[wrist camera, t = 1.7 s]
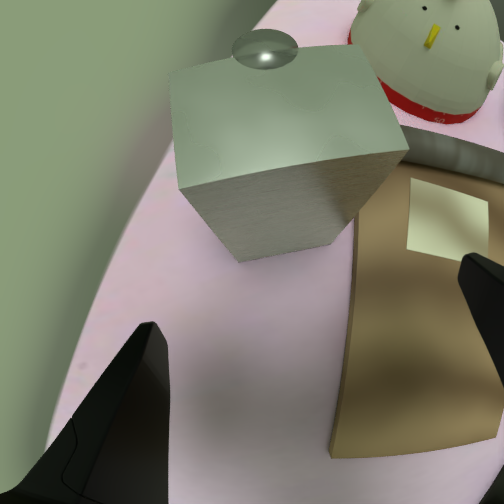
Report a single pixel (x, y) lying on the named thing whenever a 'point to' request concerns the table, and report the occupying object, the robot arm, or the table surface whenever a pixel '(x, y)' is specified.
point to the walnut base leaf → (421, 305)
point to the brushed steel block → (281, 142)
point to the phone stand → (495, 491)
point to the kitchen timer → (431, 54)
